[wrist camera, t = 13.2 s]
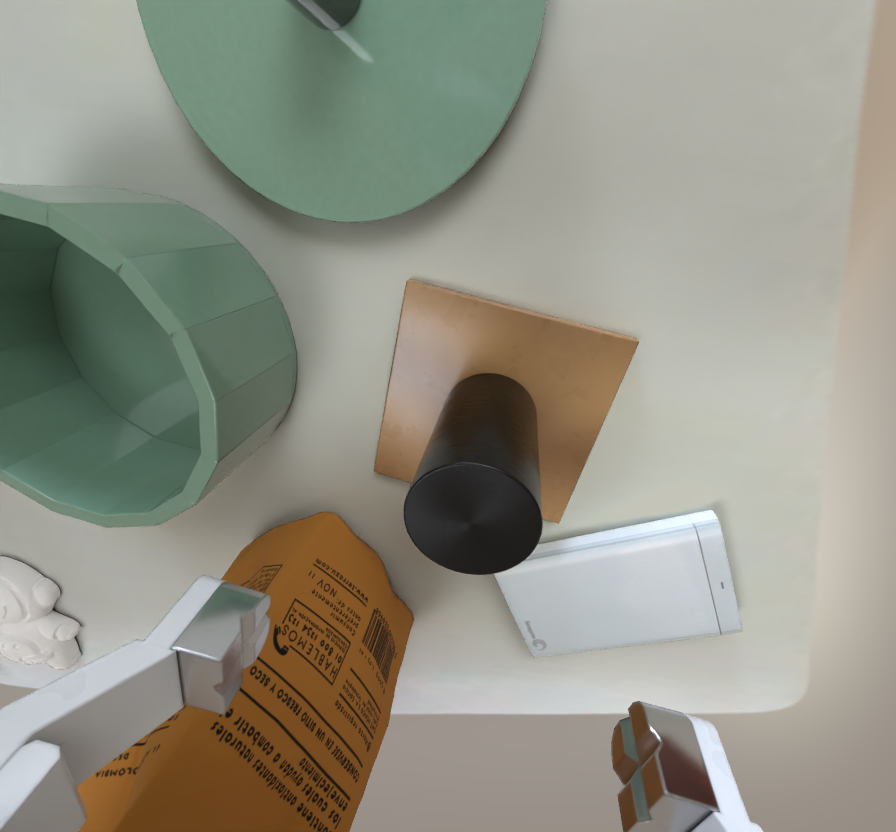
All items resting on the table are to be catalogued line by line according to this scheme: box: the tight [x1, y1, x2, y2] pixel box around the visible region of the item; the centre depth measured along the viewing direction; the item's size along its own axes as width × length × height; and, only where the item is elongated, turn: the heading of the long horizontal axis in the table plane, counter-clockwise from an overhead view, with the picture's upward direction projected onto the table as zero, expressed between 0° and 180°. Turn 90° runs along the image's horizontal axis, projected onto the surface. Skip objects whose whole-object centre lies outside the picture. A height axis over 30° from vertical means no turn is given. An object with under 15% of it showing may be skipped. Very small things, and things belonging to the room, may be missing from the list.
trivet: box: [374, 279, 639, 523], centre depth 23 cm, size 11×11×1 cm
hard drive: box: [494, 510, 742, 658], centre depth 26 cm, size 2×8×12 cm
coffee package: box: [77, 512, 414, 832], centre depth 21 cm, size 10×12×22 cm
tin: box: [404, 373, 543, 575], centre depth 19 cm, size 5×5×8 cm
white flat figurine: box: [0, 556, 81, 670], centre depth 37 cm, size 9×12×3 cm
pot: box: [0, 184, 297, 528], centre depth 21 cm, size 15×15×7 cm
